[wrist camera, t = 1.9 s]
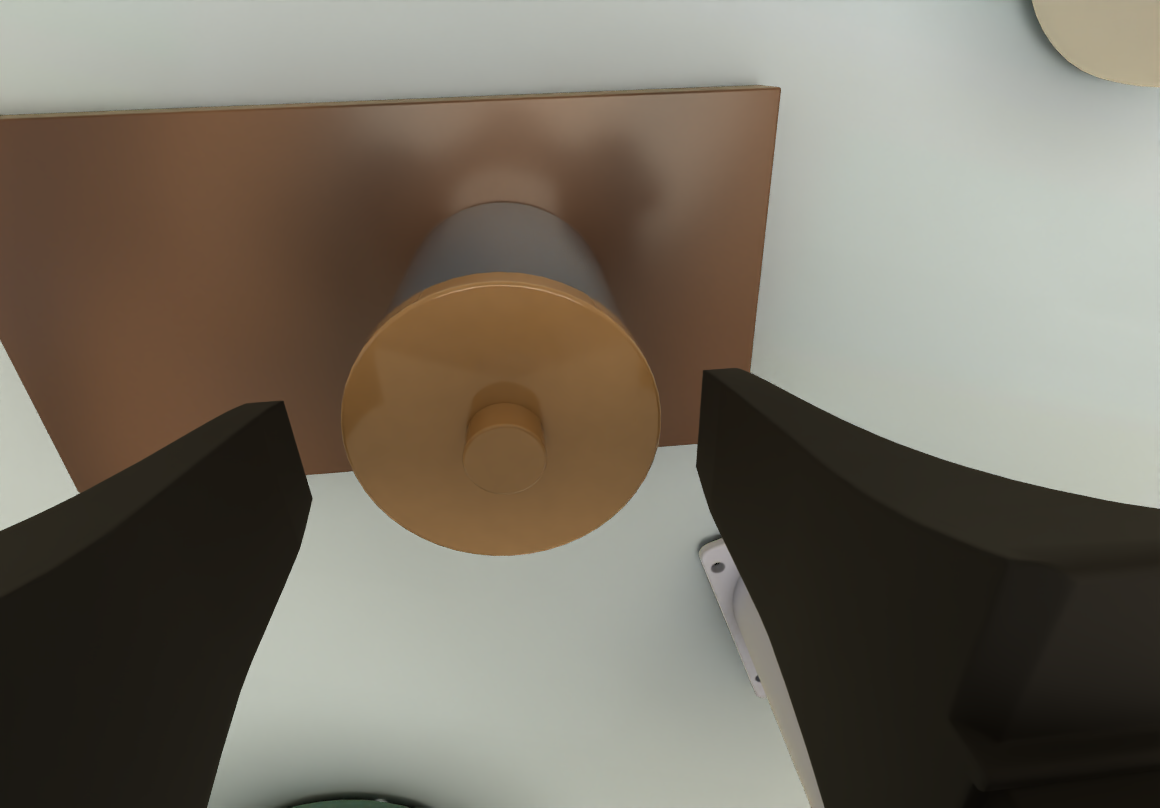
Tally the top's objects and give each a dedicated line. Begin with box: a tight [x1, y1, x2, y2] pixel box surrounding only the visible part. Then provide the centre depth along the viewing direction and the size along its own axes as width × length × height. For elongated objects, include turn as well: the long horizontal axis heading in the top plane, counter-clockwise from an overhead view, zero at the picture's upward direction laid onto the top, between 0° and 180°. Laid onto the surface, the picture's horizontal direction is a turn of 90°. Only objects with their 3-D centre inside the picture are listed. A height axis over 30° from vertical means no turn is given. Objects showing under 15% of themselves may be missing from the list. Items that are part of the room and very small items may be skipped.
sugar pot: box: [341, 202, 661, 556], centre depth 14 cm, size 6×6×8 cm
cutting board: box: [0, 85, 781, 493], centre depth 18 cm, size 20×10×2 cm, turn 92°
